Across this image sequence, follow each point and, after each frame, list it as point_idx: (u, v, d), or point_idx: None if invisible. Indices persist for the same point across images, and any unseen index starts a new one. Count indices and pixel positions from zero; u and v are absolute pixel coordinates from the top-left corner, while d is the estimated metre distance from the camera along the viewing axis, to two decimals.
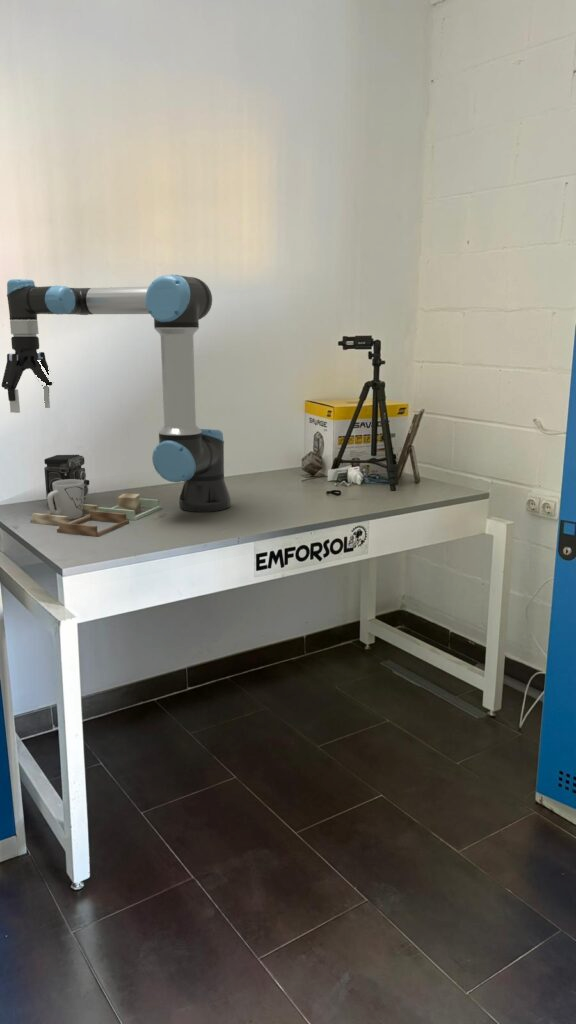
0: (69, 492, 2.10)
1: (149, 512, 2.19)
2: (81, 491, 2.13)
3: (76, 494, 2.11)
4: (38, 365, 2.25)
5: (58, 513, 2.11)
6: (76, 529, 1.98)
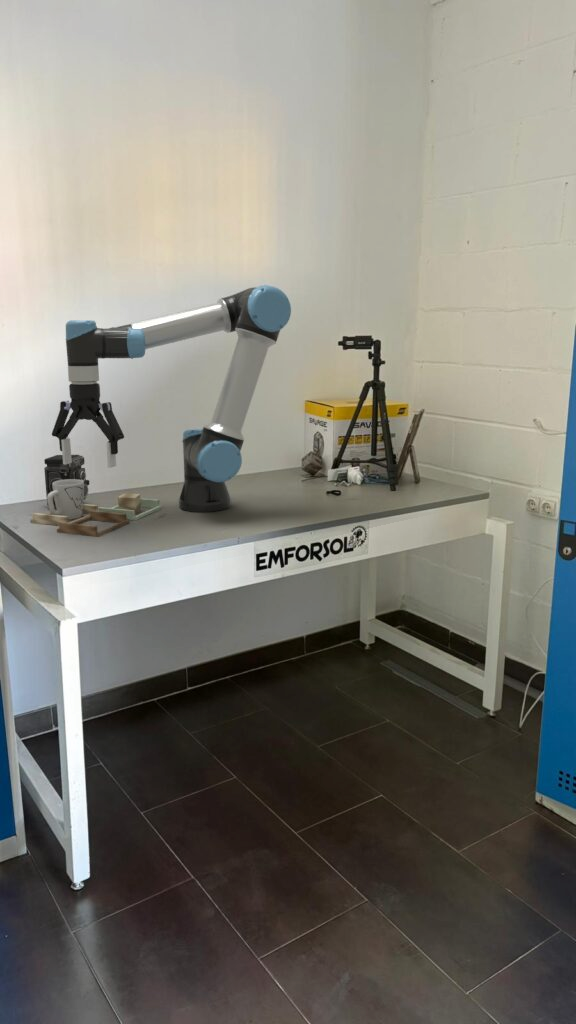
0: (69, 492, 2.10)
1: (149, 512, 2.19)
2: (81, 491, 2.13)
3: (76, 494, 2.11)
4: (92, 417, 1.95)
5: (58, 513, 2.11)
6: (76, 529, 1.98)
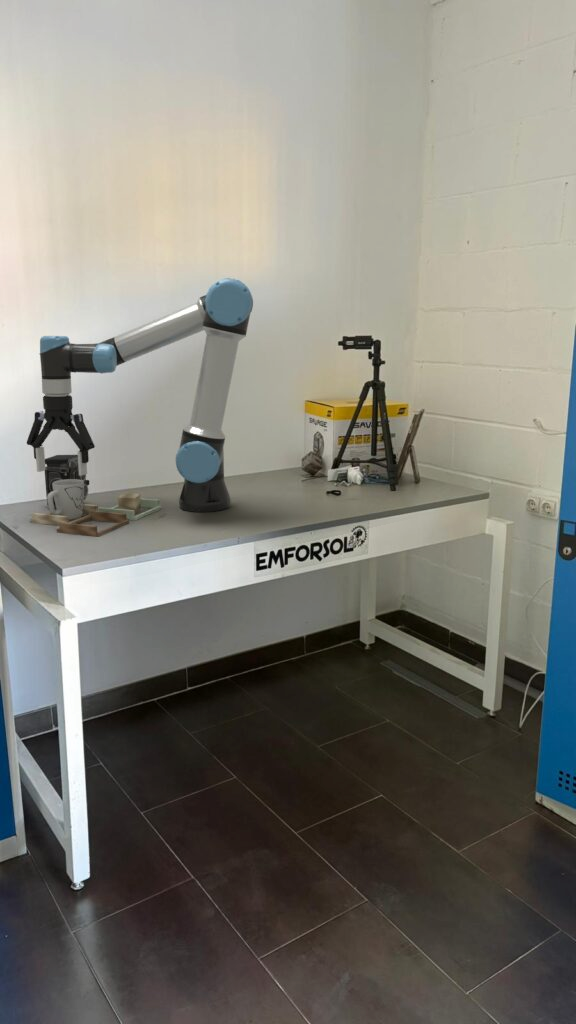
0: (69, 492, 2.10)
1: (149, 512, 2.19)
2: (81, 491, 2.13)
3: (76, 494, 2.11)
4: (64, 427, 2.06)
5: (58, 513, 2.11)
6: (76, 529, 1.98)
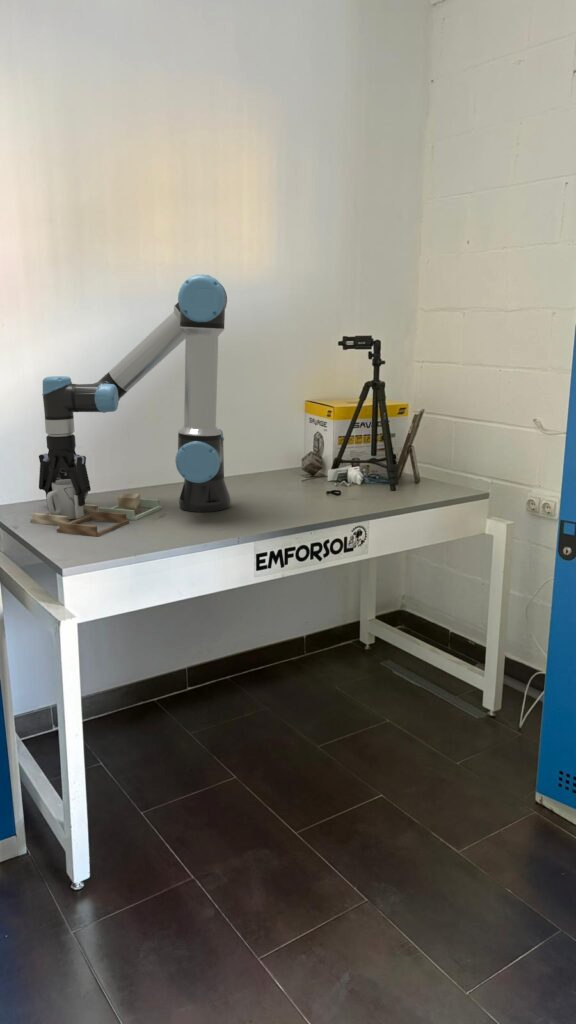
0: (68, 492, 2.10)
1: (149, 512, 2.19)
2: None
3: None
4: (66, 468, 2.09)
5: (57, 513, 2.11)
6: (76, 529, 1.98)
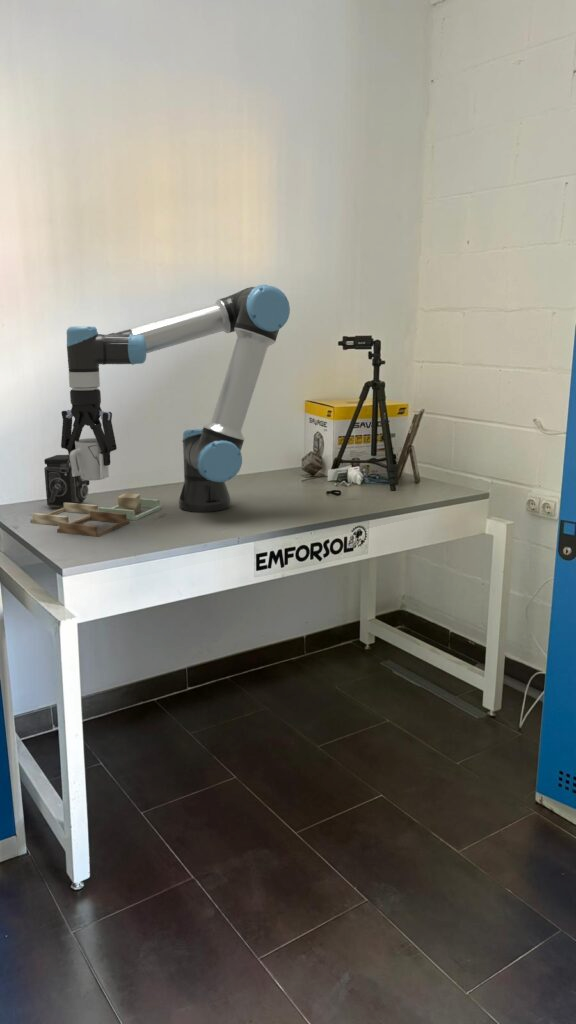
0: (93, 451, 1.97)
1: (149, 512, 2.19)
2: None
3: None
4: (90, 424, 1.96)
5: (81, 473, 1.98)
6: (76, 529, 1.98)
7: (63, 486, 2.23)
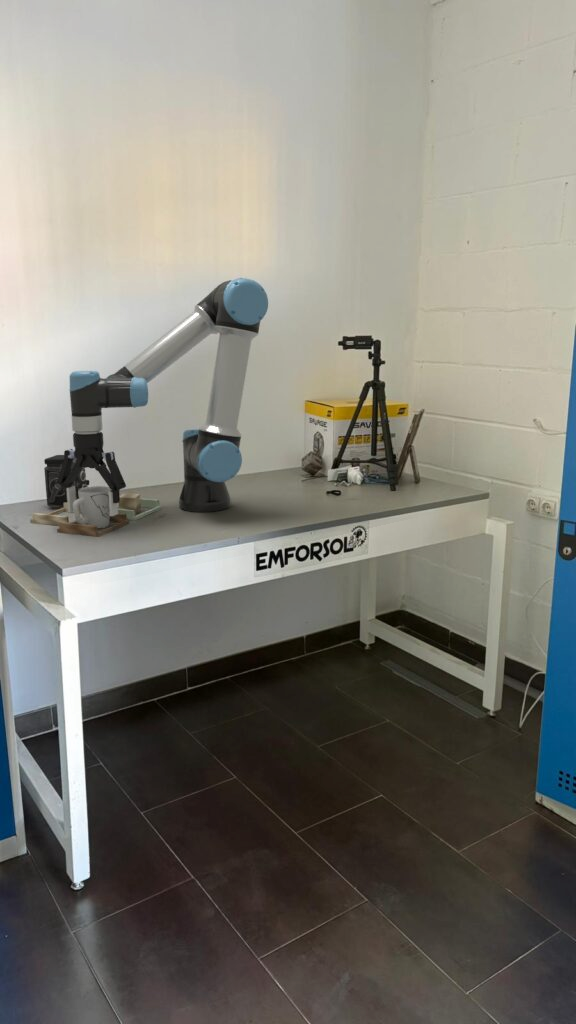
0: (95, 500, 2.01)
1: (149, 512, 2.19)
2: (108, 499, 2.03)
3: (103, 501, 2.02)
4: (95, 466, 1.98)
5: (84, 522, 2.02)
6: (76, 529, 1.98)
7: None
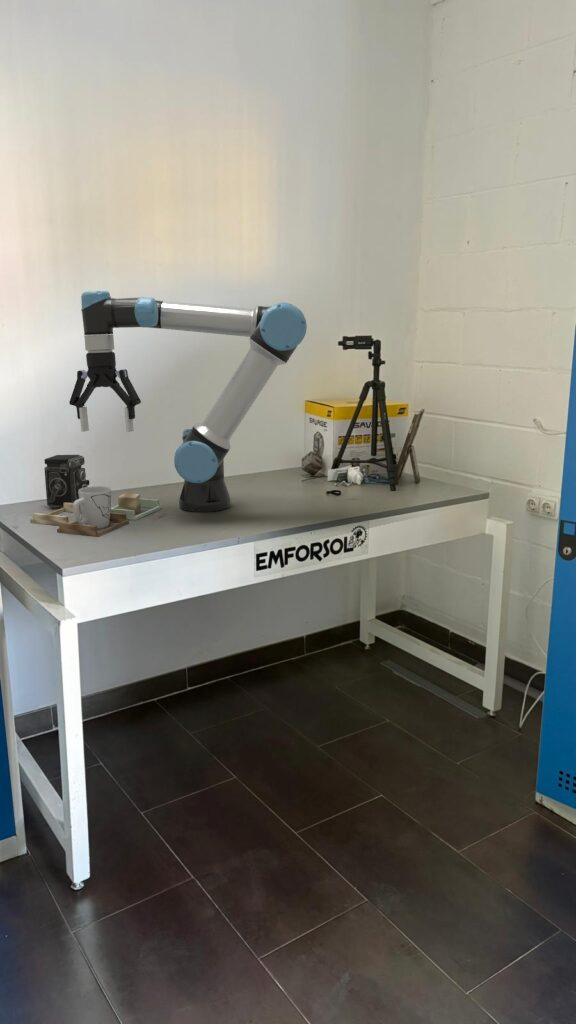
0: (96, 500, 2.00)
1: (149, 512, 2.19)
2: (108, 499, 2.03)
3: (103, 502, 2.02)
4: (109, 384, 2.04)
5: (84, 522, 2.02)
6: (76, 529, 1.98)
7: (63, 486, 2.23)
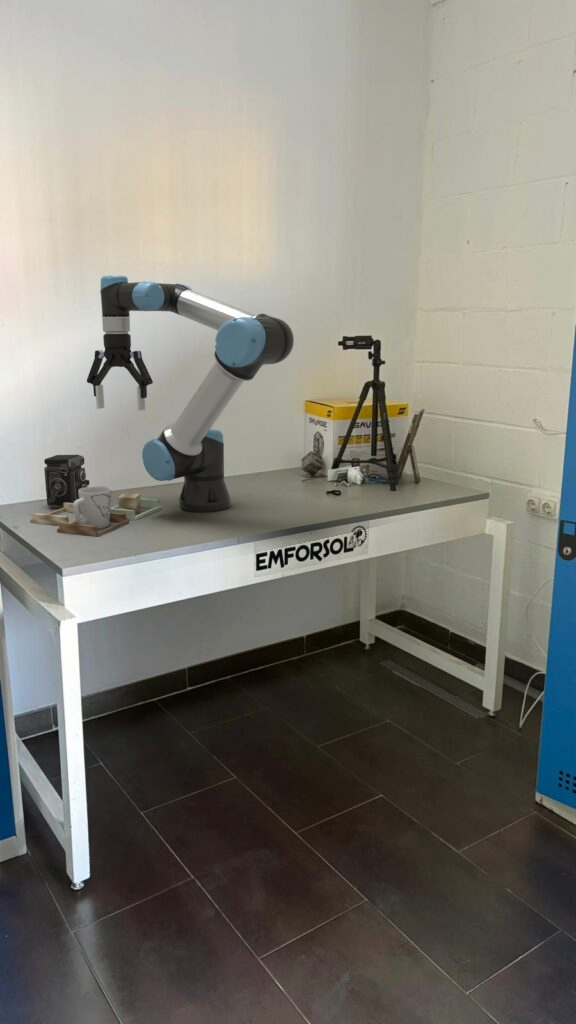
0: (95, 500, 2.01)
1: (149, 512, 2.19)
2: (108, 499, 2.03)
3: (103, 502, 2.02)
4: (124, 364, 2.16)
5: (84, 522, 2.02)
6: (76, 529, 1.98)
7: (63, 486, 2.23)
